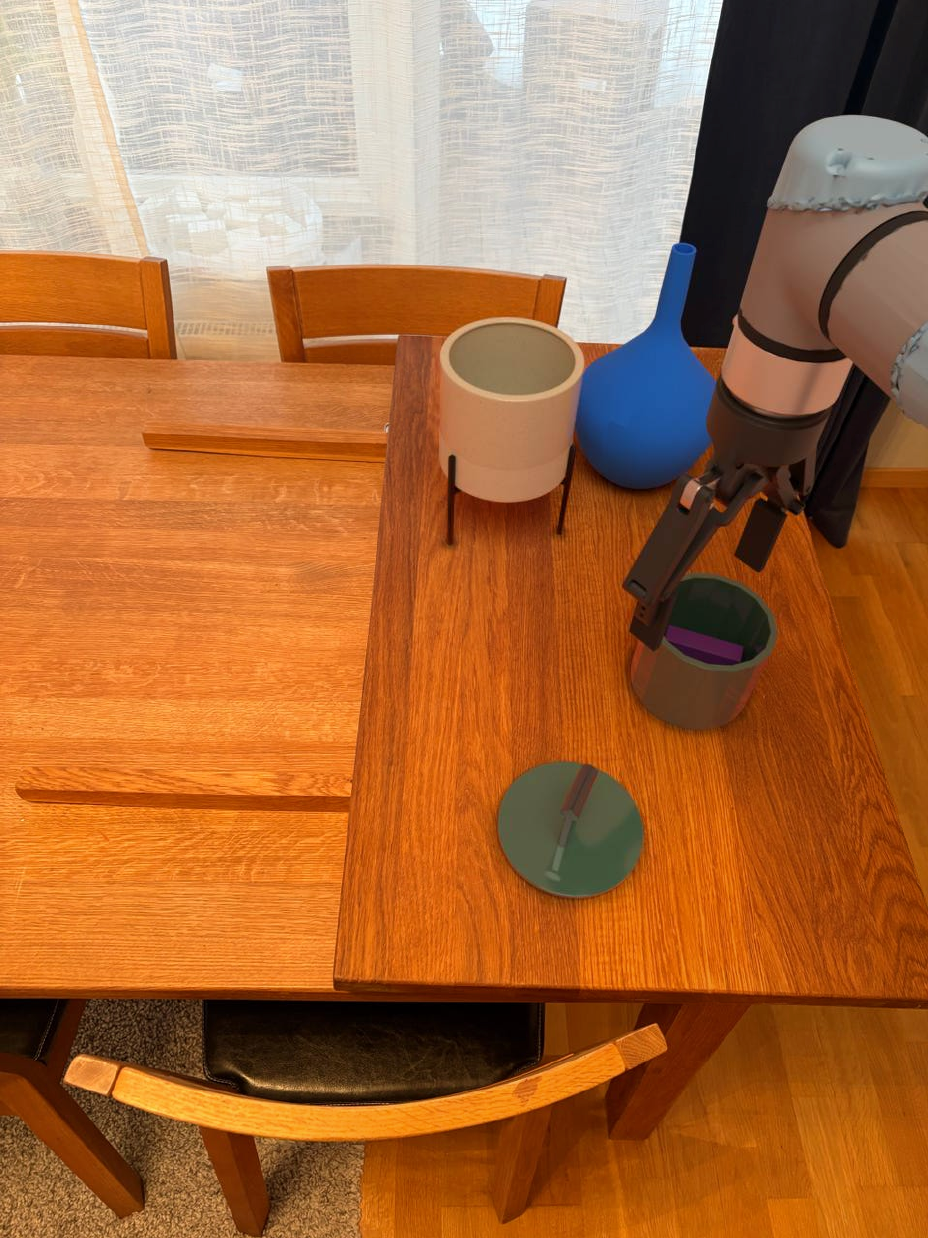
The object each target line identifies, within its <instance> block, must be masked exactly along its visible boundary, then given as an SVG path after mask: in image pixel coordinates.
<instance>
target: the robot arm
mask: <svg viewBox="0 0 928 1238" xmlns="http://www.w3.org/2000/svg"><path fill="white" fill-rule="evenodd" d="M927 197H928V136H926V135H925V134H924V133H922V132H921V131H919V130H918V129H916V128H914V127H912V126H909V125H906V124H904V123H901V122H899V121H895V120H891V119H887V118H882V117H878V116H870V115H859V114H847V115H846V114H844V115H837V116H830V117H829V116H828V117H824V118H820V119H819V120H816V121H813V122H812V123H809V124H808V125H806V126H805V127H804V128H802V129H801V130H800V131H799V132H798V133H797V134H796V135H795V137H794V138H793V140H792V142H791V144H790V146H789V149H788V151H787V154H786V157H785V160H784V162H783V164H782V167H781V170H780V173H779V176H778V178H777V180H776V183H775V186H774V189H773V191H772V195H771V196H769V198H768V200H767V202H766V207H767V211H766V215H765V218H764V221H763V224H762V228H761V232H760V234H759V238H758V242H757V245H756V249H755V253H754V255H753V259H752V263H751V266H750V270H749V273H748V277H747V280H746V284H745V286H744V290H743V293H742V296H741V301H740V304H739V308H738V311H737V314H736V315H735V316H734V317H733V319H732V325H733V329H732V332H731V335H730V339H729V343H728V346H727V349H726V353H725V356H724V359H723V363H722V365H721V372H720V375H718V378H717V380H716V386H715V389H714V392H713V396H712V399H711V402H710V405H709V409H708V412H707V416H706V428H707V431H708V434H709V436H710V439H711V441H712V443H711V445H712V447H713V453H712V455H711V456H710V458H709V459H708V461H707V462H706V464H705V467H704V470H703V473H702V474H701V475H700V476H698V477H694V476H693V475H691V474H689V473H688V471H687V472H685V473H683V474H682V475H681V476H679V477H678V478H677V479H676V482H675V484H674V487H673V490H672V493H671V496H670V498H669V501H668V503H667V505H666V507H665V508H664V510H663V512H662V514H661V515H660V516H659V519H658V521H657V522H656V524H655V526H654V528H653V530H652V531H651V533H650V534H649V536H648V539H646V541H645V544H644V546H643V547H642V549H641V550H640V552H639V554H638V556H637V557H636V559H635V561H634V563H633V564H632V567H630V570H629V571H628V572H627V575H626V576H625V578H624V581H623V582H622V585H621V588H622V590H624V591H625V592H626V593H628V594H629V595H630V596H631V597H633V598H634V599H635V600H636V602H635V608H634V611H633V615H632V619H631V622H630V626H629V629H628V633H630V634H632V635H633V636H634V637H635V638H636V639H637V640H640V641H641V642H642V643H644V644H645V645H646V646H647V647H649V648H650V649H651V650H652V651H653V652H654V651H655V650H657V649H658V648H659V647H660V645H661V642H662V639H663V636H664V633H665V630H666V628H667V625H668V622H669V619H670V616H671V613H672V610H673V607H674V604H675V601H676V598H677V595H678V594H677V593H676V592H675V591H673V590H674V589H675V588H676V586H677V585H678V583H679V582H680V581H681V579H682V578H683V577H684V575H685V574H688V571H690V569H691V568H692V566H693V565H694V563H695V561H696V560H697V559H698V557H699V556H700V555H701V553H702V552H703V551H704V549H705V548H706V547H707V545H708V544H709V543H710V541H711V540H712V538H713V537H714V536H715V535H716V533H717V532H718V530H719V529H720V528H722V527H723V528H724V527H728V526H730V525H731V524H732V522H733V521H734V520H735V518H736V517H737V516H738V514H739V513H740V512H741V510H742V509H743V507H744V506H745V505H746V503H748V501H749V500H751V499H753V498H755V497H756V496H757V495H759V494H760V493H762V494H763V496H765V497H766V498H767V500H766V499H764V498H763V497H761V496H760V497H758V498H757V499H756V500H755V501H754V503H753V505H752V508H751V511H750V513H749V516H748V518H747V521H746V523H745V525H744V528H743V531H742V533H741V535H740V539H739V541H738V543H737V546H736V549H735V552H734V554H733V556H734V557H735V558H736V559H738V560H739V561H741V562H743V564H744V565H746V566H748V567H749V568H751V569H752V570H753V571H754V572H756V573H757V574H759V573H762V572H763V571H764V570H765V567H766V565H767V563H768V560H769V559H770V557H771V554H772V551H773V549H774V547H775V545H776V542H777V540H778V539H779V535H780V533H781V531H782V529H783V527H784V524H785V522H786V520H787V517H788V514H787V512H789V513H790V514H792V515H793V516H795V517H797V516H799V515H800V514H801V513H803V511H804V509H805V507H806V503H805V502H804V501H802V500H800V499H799V498H798V495H802V496H803V497H805V496H807V495H808V494H809V493H811V491H812V490H813V487H814V483H815V472H816V470H815V469H816V460H817V449H818V442H819V440H820V437H821V435H822V434H823V431H824V429H825V427H826V424H827V422H828V420H829V418H830V415H831V413H832V409H833V405H834V404H835V403H836V401H837V400H838V398H839V397H840V394H841V391H842V389H843V387H844V384H845V382H846V380H847V378H848V376H849V373H850V370H851V369H852V366H853V365H855V366H856V367H857V368H858V369H859V370H861V372H863V374H865V375H866V376H867V377H868V378H869V379H870V380H871V381H872V382H873V383H874V384H875V385H876V386H878V388H880V389H881V391H883V393H885V395H887V396H888V397H889V398H890V399H891V400H892V401H893V402H894V403H895V404H896V407H897V408H898V409H899V410H900V411H901V412H902V414H903V415H904V416H905V417H906V418H907V419H910V420H912V421H913V422H914V423H915V424H917V425H922V426H924V427H925V428H926V429H927V430H928V208H927V207H926V206H925V205H924V202H925V200H926V198H927ZM714 500H715V501H716V502H718V503H720V504H721V505H722V506H724V507H726V508H725V509H724V510H723V511H721V510H718V509H717V508H716V507H714V506H715V502H714Z"/></svg>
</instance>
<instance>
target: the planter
mask: <svg viewBox="0 0 928 1238" xmlns="http://www.w3.org/2000/svg"><path fill="white" fill-rule="evenodd" d="M439 351H440V352H439V398H438V399H439V403H438V404H439V405H438V406H439V407H438V409H439V413H438V414H439V415H438V417H439V418H438V424H439V425H438V426H439V427H438V433H439V434H438V442H439V443H438V461H439V466H440V468H441V471H442V473H443V474H444V476H445V477H446V479H447V498H446V501H447V503H446V504H447V506H446V507H447V508H446V510H447V511H446V544H447V545H448V546H452V545H453V544H454V543H455V542H454V541H455V540H454V537H455V503H456V499H455V498H456V497H455V496H456V495H457V494H459V493H462V492H463V493H465V494H468V495H469V496H472V497H474V498H477V499H480V500H484V501H488V502H494V503H505V504H506V503H509V504H510V503H512V504H513V503H522V502H527V501H531V500H535V499H537V498H540V497H542V496H545V495H547V494H549V493H550V492H552V491H553V490H555V489H556V488H557V487H558V486H559V485H561V486H563V490H562V497H561V503H560V509H559V516H558V522H557V529H556V534H558V535H563V533H564V528H565V523H566V516H567V510H568V504H569V497H570V491H571V486H572V479H573V474H574V467H575V461H576V457H577V456H576V455H577V449H578V445H575V444H573V441H574V433H575V422H576V416H577V409H578V403H579V397H580V390H581V384H582V378H583V374H584V372H585V356H584V354H583V351H582V349H581V348H580V346H579V344H578V343H577V342H576V340H574V339H573V338H572V337H571V336H570V335H569V334H567V333H566V332H564V331H563V330H561V329H559V328H557V327H556V326H553V325H551V324H548V323H546V322H542V321H540V320H535V319H531V318H526V317H525V318H524V317H515V316H500V317H498V316H497V317H488V318H484V319H479V320H476V321H472V322H469V323H468V324H465V325H463V326H460V327H459V328H457V329H456V330H455V331H453V332H452V333H450V334H449V336H448V337H447V338H446V339H445V340H444V342H443V344H442V346H441V348H440V350H439Z"/></svg>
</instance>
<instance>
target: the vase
mask: <svg viewBox="0 0 928 1238" xmlns="http://www.w3.org/2000/svg"><path fill="white" fill-rule="evenodd" d="M696 254H697V248H696V247H695V246H694V245H693V244H690V243H687V242H677V243H674V244H673V245H671V249H670V253H669V258H668V261H667V264H666V268H665V272H664V276H663V280H662V284H661V289H660V292H659V296H658V300H657V305H656V310H655V313H654V317H653V319H652V321H651V322H650V324H649V325H648V327H647V328H646V329H645V330H643V332H640V333H639V334H638V335H636V336H635V337H633V338H632V339H630V340H629V341H626V342H625V343H623V344H622V345H620V346H619V347H617V348H615V349H613V350H611V351H609V352H607V353H605V354H604V355H601V356H600V357H598V358H596V359H594V360H593V361H592V362H591V363H590V364H589V365H588V366H586V367H585V368H584V372H583V378H582V384H581V390H580V397H579V403H578V409H577V416H576V422H575V428H574V430H575V434H576V437H577V441H578V444H579V446H580V449H581V451H582V453H583V455H584V456H585V458H586V459H587V461H588V463H589V464H590V466H592V468H593V469H594V470H595V471H596V472H597V473H598V474H600V475H602V477H604V478H605V479H606V480H608V481H609V482H611V483H613V484H615V485H617V486H620V487H624V488H627V489H631V490H632V489H633V490H644V489H645V490H646V489H653V488H658V487H662V486H664V485H667V484H670V483H671V482H673V481H675V480H677V479H678V478H679V477H680V476H681V475H682V474H683V473H685V472H687V473H688V471H690V470H691V469H692V468H693V467H694V466H695V465H696V463H697V462H698V461H699V460H700V458H701V457H702V456H703V455H704V453H705V452H706V451H707V450H708V448H709V447H710V446H711V445H712V441H711V439H710V436H709V434H708V431H707V428H706V416H707V412H708V409H709V405H710V402H711V399H712V396H713V392H714V389H715V386H716V382H717V380H716V379H715V377H713V375H712V374H711V373H710V372H709V370H708V369H707V368H706V367H705V366H704V364H703V363H702V362H701V361H700V360H699V359H698V358H697V356H696V354H695V353H694V351H693V350H692V349H691V347H690V345H689V343H688V342H687V341H686V339H685V338H684V335H683V331H682V325H681V320H682V316H683V313H684V308H685V304H686V301H687V296H688V292H689V286H690V281H691V278H692V273H693V268H694V263H695V260H696Z"/></svg>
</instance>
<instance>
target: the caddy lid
mask: <svg viewBox="0 0 928 1238" xmlns="http://www.w3.org/2000/svg"><path fill="white" fill-rule="evenodd" d="M502 797H503V798H502V799H501V801H500V805H499V808H498V814H497V825H496V826H497V837H498V841H499V844H500V847H501V850H502V852H503V855H504V856H505V858H506V861H508V863H509V865H510V866H511V868H512V869H513V870H514V871H515V872H516V873H517V875H519V877H521V878H522V879H523V880H524V881H525V882H527V883H528V884H529V885H531V886H532V887H534V888H536V889H537V890H539V891H541V892H544V893H546V894H549V895H552V896H555V897H558V898H564V899H570V900H571V899H572V900H573V899H575V900H576V899H577V900H581V899H590V898H594V897H598V896H602V895H603V894H607V893H609V892H611V891H612V890H614V889H616V888H617V887H618V886H620V885H621V884H622V883H623V882H625V880H626V879H628V877H629V876H630V875H631V873H632V872H633V871H634V869H635V868H636V866H637V864H638V862H639V859H640V857H641V853H642V851H643V846H644V845H643V844H644V826H643V821H642V817H641V813H640V810H639V809H638V806H637V804H636V802H635V801H634V799H633V797H632V796H631V795H630V794H629V792H628V791H627V789H626V788H625V787H624V786H623V785H622V784H621V783H620V782H618V780H616V779H615V778H614V777H612V776H611V775H610V774H608V773H606V772H605V771H603V770H601V769H599V768H597V767H596V766H594V765H592V764H589V763H581V762H576V761H554V762H548V763H547V762H546V763H543V764H540V765H538V766H535V767H532V768H531V769H529V770H527V771H525V772H523V774H521V775H520V776H518V778H516V779H515V780H514V781H513V782H512V783H511V784H510V786H509V787H508V788H507V790H506V792H505V794H504V795H503V796H502Z"/></svg>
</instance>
